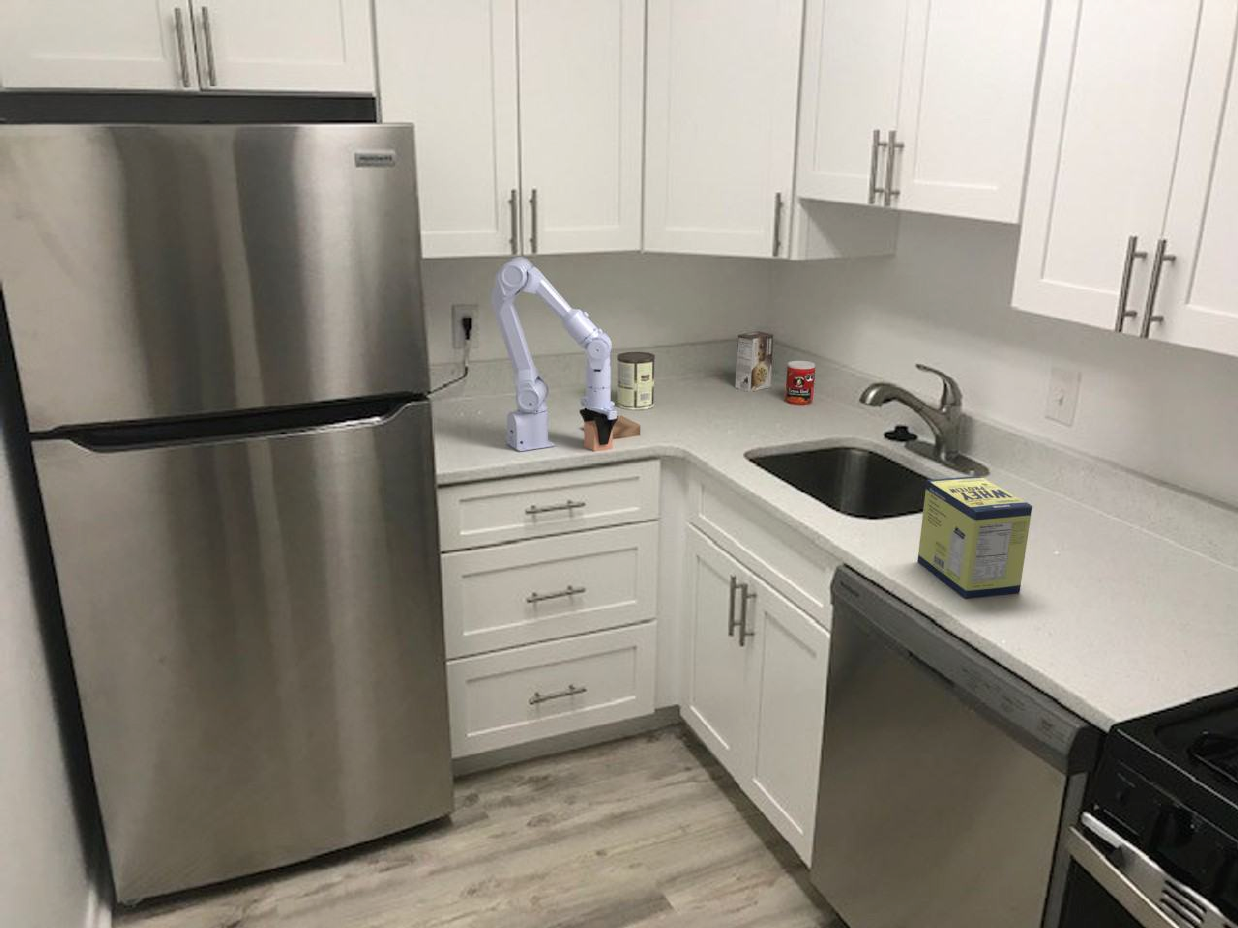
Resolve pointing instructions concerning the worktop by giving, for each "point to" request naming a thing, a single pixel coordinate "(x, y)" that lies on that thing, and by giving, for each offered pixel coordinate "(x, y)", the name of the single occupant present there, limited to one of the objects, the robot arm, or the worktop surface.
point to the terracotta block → (595, 437)
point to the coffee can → (635, 380)
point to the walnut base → (625, 428)
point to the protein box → (974, 536)
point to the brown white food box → (754, 361)
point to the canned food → (800, 382)
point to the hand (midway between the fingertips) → (598, 441)
